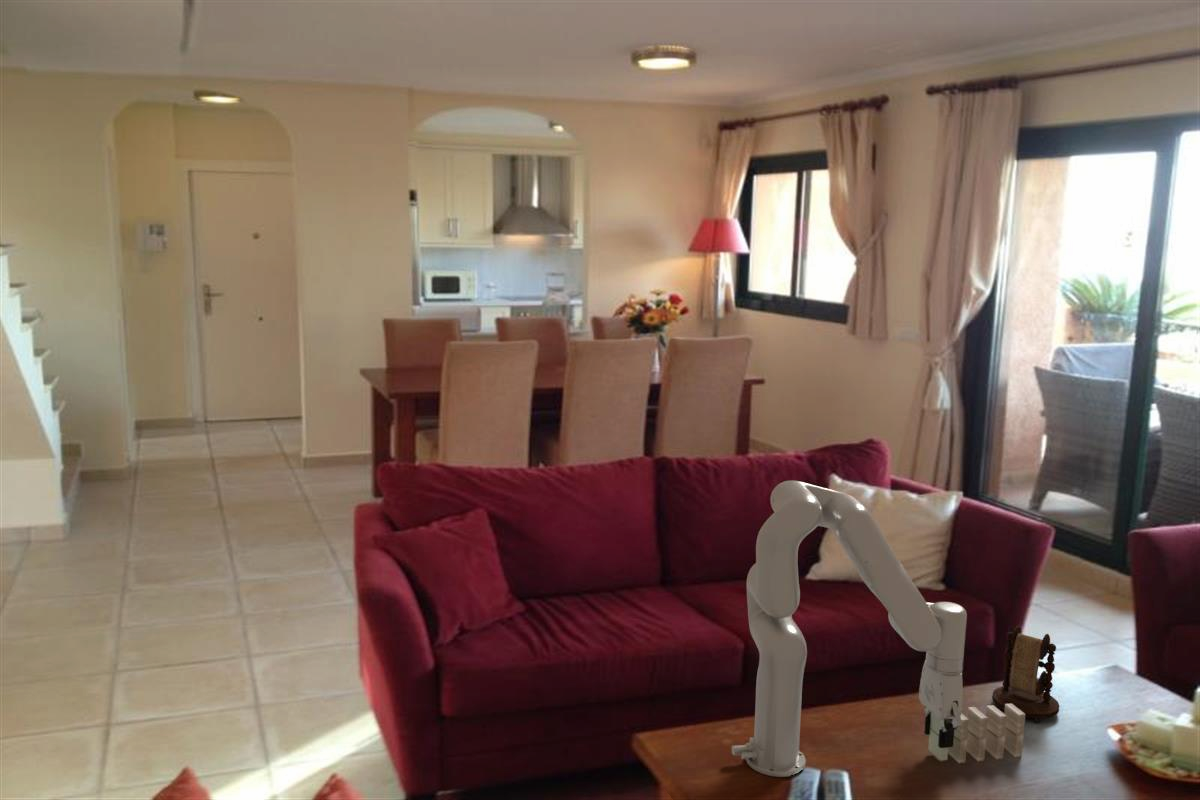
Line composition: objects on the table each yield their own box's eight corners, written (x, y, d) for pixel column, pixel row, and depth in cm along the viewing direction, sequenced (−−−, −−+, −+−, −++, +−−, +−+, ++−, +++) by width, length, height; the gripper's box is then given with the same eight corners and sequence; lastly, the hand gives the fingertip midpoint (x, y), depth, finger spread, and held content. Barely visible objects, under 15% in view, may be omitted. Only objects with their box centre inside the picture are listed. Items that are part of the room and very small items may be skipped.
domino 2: (958, 763, 213) (962, 720, 211) (946, 751, 217) (949, 709, 216) (965, 762, 213) (969, 719, 211) (952, 750, 218) (956, 708, 216)
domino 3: (977, 761, 213) (981, 718, 212) (964, 749, 218) (968, 707, 217) (984, 760, 214) (988, 717, 212) (971, 749, 219) (974, 706, 217)
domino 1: (940, 760, 211) (943, 717, 210) (928, 748, 216) (931, 706, 215) (947, 759, 212) (950, 716, 210) (935, 748, 217) (938, 705, 215)
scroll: (981, 709, 237) (988, 630, 233) (1005, 689, 248) (1012, 613, 244) (1045, 731, 227) (1053, 648, 224) (1067, 709, 238) (1075, 630, 234)
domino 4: (996, 759, 214) (1000, 716, 213) (982, 747, 219) (986, 705, 217) (1003, 758, 215) (1006, 715, 213) (989, 747, 219) (993, 705, 218)
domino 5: (1014, 757, 215) (1018, 714, 214) (1001, 746, 220) (1004, 703, 218) (1021, 756, 216) (1025, 714, 214) (1007, 745, 220) (1011, 703, 219)
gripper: (908, 645, 218) (902, 722, 221) (950, 679, 201) (943, 762, 204) (939, 643, 219) (933, 719, 222) (983, 677, 203) (976, 759, 206)
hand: (938, 739), depth 213 cm, fingers closed on domino 1, 4 cm apart
